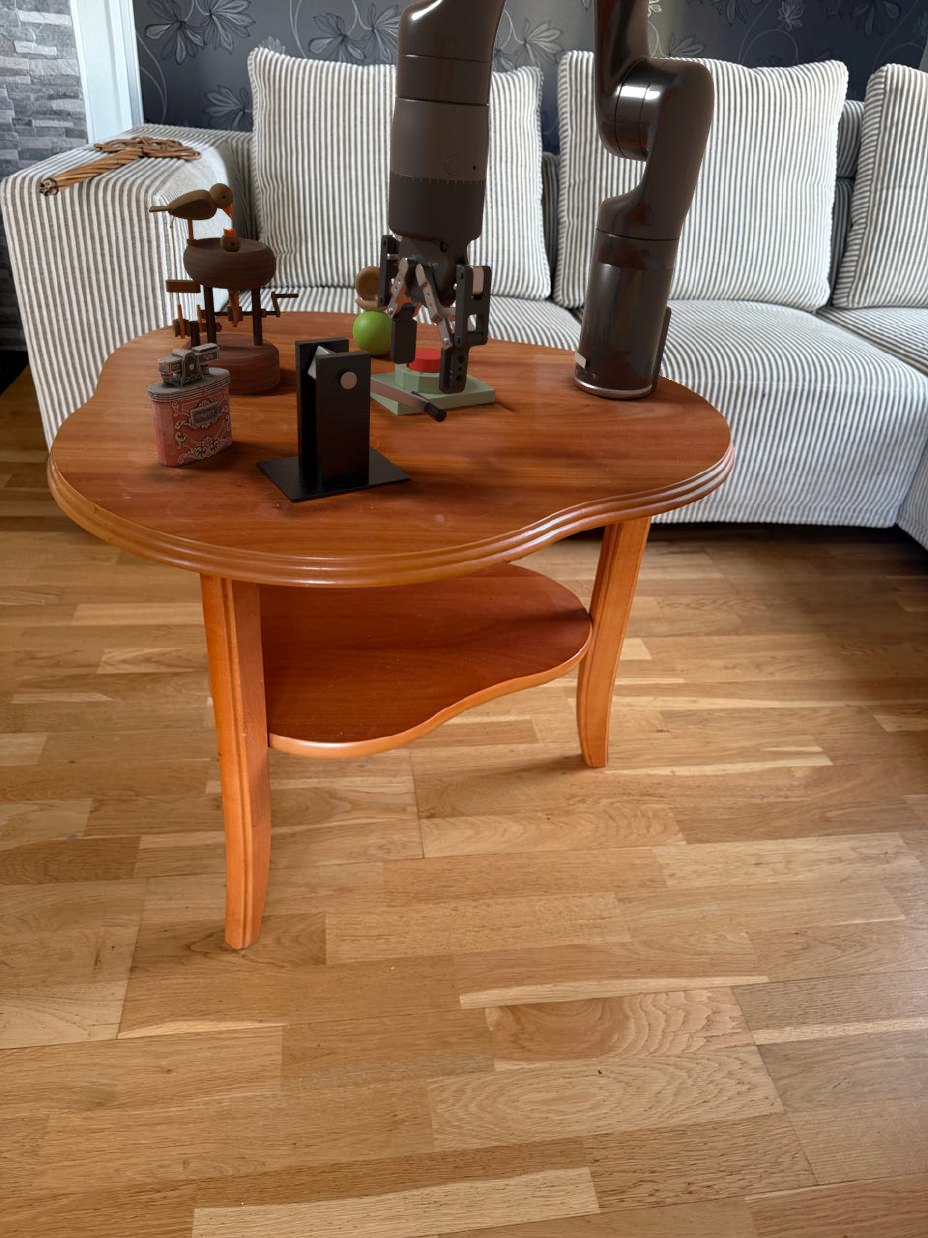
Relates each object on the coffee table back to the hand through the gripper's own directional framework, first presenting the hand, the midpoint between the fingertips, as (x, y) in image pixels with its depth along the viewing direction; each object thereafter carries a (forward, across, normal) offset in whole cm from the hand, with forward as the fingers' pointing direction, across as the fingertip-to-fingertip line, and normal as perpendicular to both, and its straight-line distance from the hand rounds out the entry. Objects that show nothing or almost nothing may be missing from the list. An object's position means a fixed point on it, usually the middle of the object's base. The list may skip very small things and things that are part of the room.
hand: (425, 376), depth 76 cm
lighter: (+9, +8, +18) cm, 22 cm away
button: (+5, +15, -9) cm, 18 cm away
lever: (+2, 0, +5) cm, 5 cm away
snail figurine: (+8, +32, -12) cm, 35 cm away
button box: (+8, +15, -9) cm, 19 cm away
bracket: (+8, 0, +9) cm, 12 cm away
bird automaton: (+9, +29, +7) cm, 31 cm away
